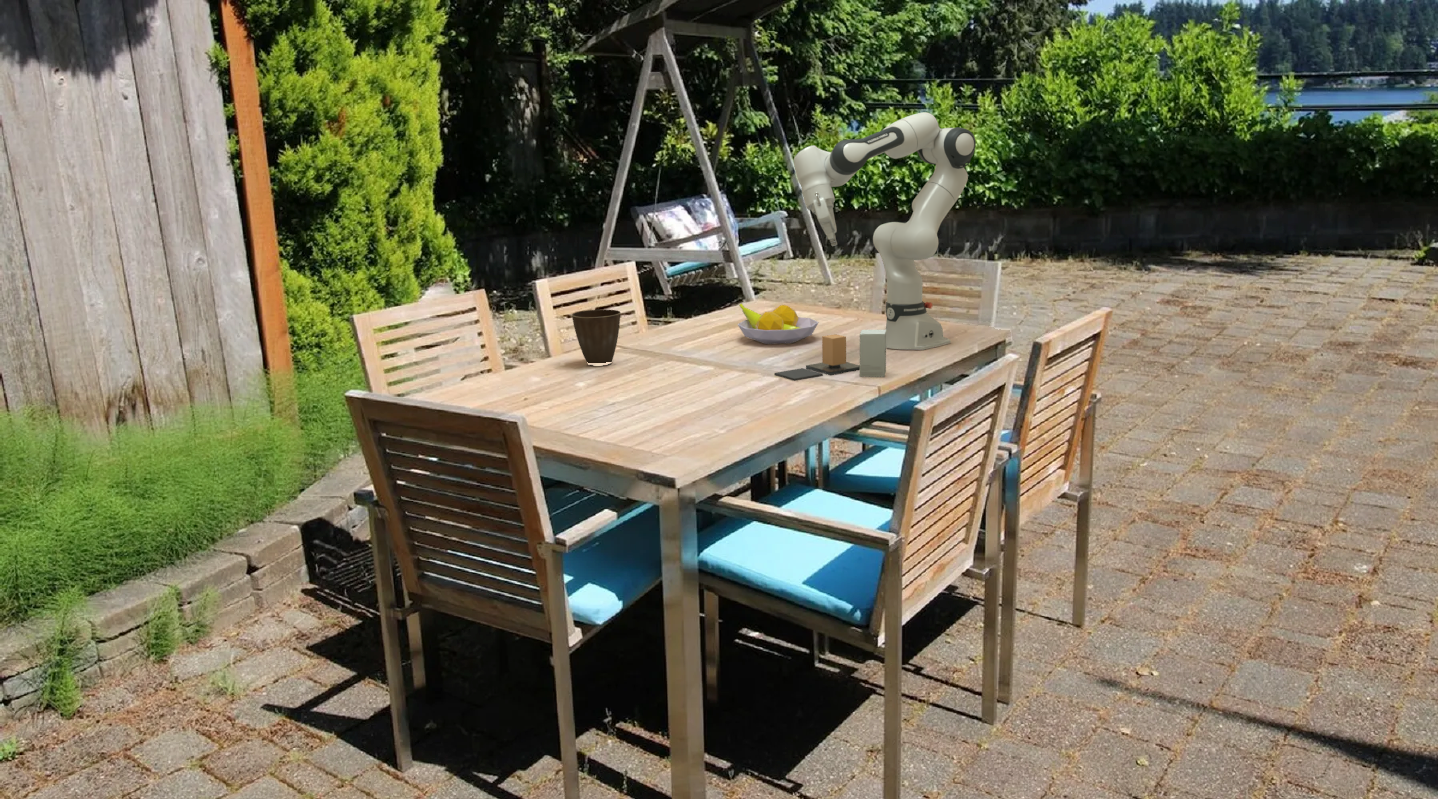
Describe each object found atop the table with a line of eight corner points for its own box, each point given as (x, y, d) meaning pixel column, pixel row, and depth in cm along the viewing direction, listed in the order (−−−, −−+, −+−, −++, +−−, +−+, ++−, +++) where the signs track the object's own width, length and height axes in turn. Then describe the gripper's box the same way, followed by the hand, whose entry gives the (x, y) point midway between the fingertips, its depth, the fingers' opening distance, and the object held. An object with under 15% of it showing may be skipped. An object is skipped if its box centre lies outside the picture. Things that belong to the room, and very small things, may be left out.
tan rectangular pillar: (835, 360, 359) (835, 334, 357) (846, 363, 355) (846, 336, 353) (822, 362, 356) (822, 336, 354) (832, 365, 352) (832, 338, 350)
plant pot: (565, 367, 371) (562, 315, 367) (592, 357, 384) (589, 308, 380) (606, 370, 364) (603, 318, 360) (632, 361, 377) (629, 310, 373)
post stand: (838, 363, 364) (837, 333, 362) (863, 369, 354) (863, 339, 352) (806, 368, 358) (805, 338, 356) (830, 375, 348) (830, 344, 346)
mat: (802, 370, 356) (802, 368, 356) (822, 375, 348) (822, 373, 347) (774, 374, 351) (774, 372, 351) (794, 380, 342) (794, 378, 342)
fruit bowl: (834, 340, 399) (834, 306, 396) (768, 351, 384) (767, 316, 382) (783, 329, 422) (782, 297, 419) (719, 339, 407) (718, 306, 404)
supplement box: (885, 377, 343) (885, 333, 340) (858, 377, 344) (858, 333, 341) (886, 372, 350) (886, 329, 347) (861, 371, 351) (861, 329, 348)
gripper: (825, 187, 351) (839, 231, 349) (833, 203, 371) (846, 245, 369) (805, 194, 352) (818, 238, 350) (813, 210, 372) (826, 252, 370)
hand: (832, 242), depth 360 cm, fingers open, 8 cm apart
